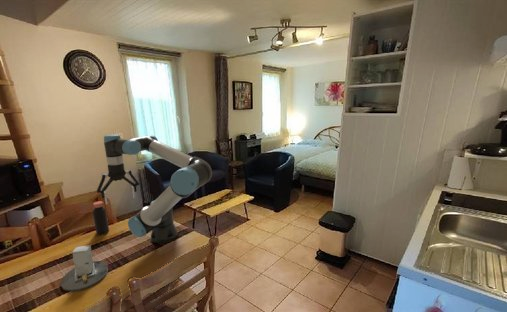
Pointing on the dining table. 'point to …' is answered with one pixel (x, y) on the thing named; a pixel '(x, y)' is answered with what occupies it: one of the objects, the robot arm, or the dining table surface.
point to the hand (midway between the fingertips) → (120, 200)
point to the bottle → (100, 218)
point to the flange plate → (91, 281)
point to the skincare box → (83, 260)
